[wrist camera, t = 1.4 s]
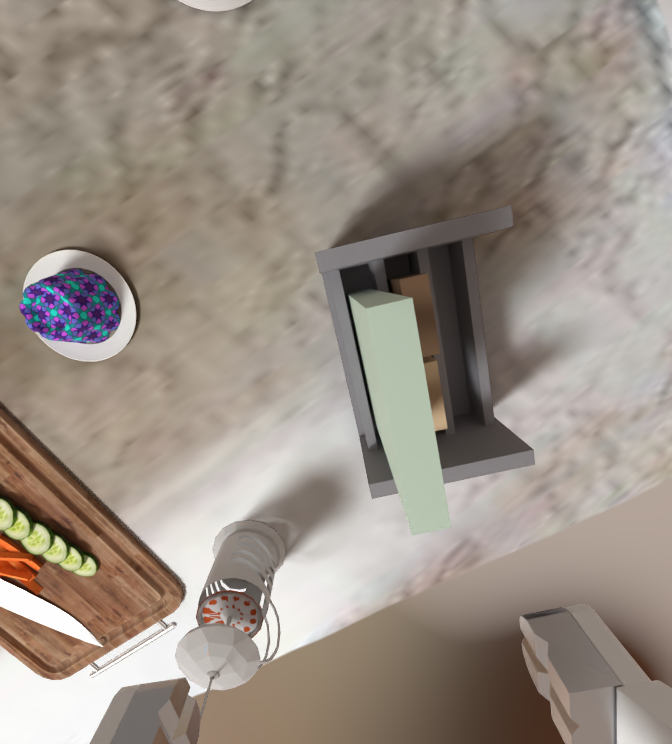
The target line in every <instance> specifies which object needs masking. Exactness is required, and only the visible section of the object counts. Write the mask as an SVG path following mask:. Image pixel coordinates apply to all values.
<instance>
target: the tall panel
mask: <svg viewBox="0 0 672 744" xmlns="http://www.w3.org/2000/svg"><path fill="white" fill-rule="evenodd" d="M347 297H348V301H349V306H350V311H351V315H352V320H353V325H354V329H355V334H356V339H357V343H358V348H359V352H360V357H361V362H362V366H363V371H364V376H365V380H366V385H367V390H368V394H369V399H370V403H371V408H372V413H373V416H374V419H375V422H376V425H377V428H378V432H379V435H380V438H381V441H382V444H383V447H384V450H385V453H386V456H387V459H388V462H389V465H390V468H391V472H392V475H393V478H394V481H395V484H396V487H397V490H398V493H399V496H400V499H401V502H402V505H403V509H404V512H405V515H406V518H407V521H408V524H409V527H410V530H411V533H412V535H417V534H422V533H426V532H431V531H436V530H441V529H446V528H451V524H450V518H449V512H448V506H447V500H446V494H445V488H444V482H443V476H442V470H441V464H440V458H439V452H438V447H437V441H436V435H435V429H434V423H433V417H432V411H431V405H430V399H429V393H428V387H427V381H426V375H425V369H424V363H423V358H422V352H421V346H420V340H419V334H418V328H417V322H416V316H415V310H414V304H413V298H411V297H407V296H402V295H397V294H392V293H388V292H383V291H378V290H374V289H365V290H360V291H356V292H352V293H348V294H347Z"/></svg>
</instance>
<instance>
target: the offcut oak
mask: <svg viewBox="0 0 672 744" xmlns="http://www.w3.org/2000/svg"><path fill="white" fill-rule="evenodd" d="M423 363H424V369H425V375H426V381H427V387H428V393H429V399H430V405H431V411H432V417H433V423H434V429H435V431H438V430H443V429H448V428H447V421H446V415H445V409H444V402H443V396H442V390H441V383H440V377H439V371H438V364H437V360H435V359H434V358H433V357H431V356H428V357H423Z"/></svg>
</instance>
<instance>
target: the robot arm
mask: <svg viewBox="0 0 672 744" xmlns="http://www.w3.org/2000/svg"><path fill="white" fill-rule="evenodd" d="M178 1H180V2H182V3H184V4H186V5H188V6H191V7H194V8H197V9H201V10H206V11H226V10H231V9H235V8H238V7H240V6H243V5H245V4H247V3H249V2H250V1H252V0H178ZM520 628H521V630H522V631H523V633H524V635H525V638H524V639H523V641H522V647H523V654H524V657H525V661H526V663H527V667H528V670H529V672H530V674H531V676H532V679H533V681H534V683H535V685H536V687H537V689H538V691H539V693H540V694H542V695H543V696H544V697H545V698H546V699H548V700H549V701H550V702H551V713H552V719H553V721H554V723H555V724H556V726H557V728H558V730H559V732H560V734H561V736H562V738H563V740H564V742H565V744H672V688H670V687H669V686H667V685H666V684H664V683H662V682H661V681H659V680H658V681H651V680H650V679H649V678H648V676H647V675H646V674H645V673H644V672H643V670H642V669H641V668H640V667H639V665H638V664H637V663H636V662H635V661H634V659H633V658H632V657H631V656H630V655H629V653H628V652H627V651H626V649H625V648H624V647H623V646H622V644H621V643H620V642H619V641H618V640H617V638H616V637H615V636H614V635H613V633H612V632H611V631H610V630H609V628H608V627H607V626H606V625H605V623H604V622H603V621H602V620H601V618H600V617H599V616H598V615H597V614H596V612H595V611H594V610H593V609H592V608H591V607H590V606H589V605H587V604H580V605H575V606H571V607H566V608H562V607H561V608H556V609H551V610H546V611H541V612H536V613H531V614H526V615H521V617H520ZM189 689H190V685H189V683H188V682H187V680H186V678H178V679H172V680H166V681H159V682H153V683H147V684H140V685H134V686H128V687H123V688H121V689H120V690H119V691H118V693H117V694H116V695H115V696H114V698H113V700H112V701H111V703H110V705H109V707H108V709H107V711H106V713H105V715H104V717H103V719H102V721H101V723H100V724H99V726H98V728H97V730H96V732H95V734H94V736H93V738H92V740H91V742H90V744H197V741H198V737H199V731H200V730H199V729H200V720H201V718H200V710H199V706H198V704H197V701H196V700H195V699H193V698H192V697H190V696H189V695H188V692H189Z"/></svg>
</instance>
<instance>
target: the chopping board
mask: <svg viewBox="0 0 672 744" xmlns="http://www.w3.org/2000/svg"><path fill="white" fill-rule="evenodd" d="M183 595H184V594H183V588H182V586H181V585H180V583H179V582H178V580H176V579H175V578H174V577H173V576H172V575H171V574H170V573H169V572H168V571H167V570H166V569H165V568H164V567H163V566H162V565H161V564H160V563H159V562H158V561H157V560H156V559H155V558H154V557H153V556H152V555H151V554H150V553H149V552H148V551H147V550H146V549H145V548H144V547H143V546H142V545H141V544H140V543H139V542H138V541H136V540H135V539H134V538H133V537H132V536H131V535H130V534H129V533H128V532H127V531H126V530H125V529H124V528H123V527H122V526H121V525H120V524H119V523H118V522H117V521H116V520H115V519H114V518H113V517H112V516H111V515H110V514H109V513H108V512H107V511H106V510H105V509H104V508H103V507H102V506H101V505H100V504H99V503H98V502H96V501H95V500H94V499H93V498H92V497H91V496H90V495H89V494H88V493H87V492H86V491H85V490H84V489H83V488H82V487H81V486H80V485H79V484H78V483H77V482H76V481H75V480H74V479H73V478H72V477H71V476H70V475H69V474H68V473H67V472H66V471H65V470H64V469H63V468H62V467H61V466H60V465H59V464H58V463H56V462H55V461H54V460H53V459H52V458H51V457H50V456H49V455H48V454H47V453H46V452H45V451H44V450H43V449H42V448H41V447H40V446H39V445H38V444H37V443H36V442H35V441H34V440H33V439H32V438H31V437H30V436H29V435H28V434H27V433H26V432H25V431H24V430H23V429H22V428H21V427H20V426H19V425H18V424H16V423H15V422H14V421H13V420H12V419H11V418H10V417H9V416H8V415H7V414H6V413H5V412H4V411H3V410H2V409H1V408H0V646H2V647H3V648H4V649H6V650H7V651H8V652H9V653H11V654H12V655H13V656H15V657H16V658H17V659H18V660H20V661H21V662H22V663H23V664H25V665H26V666H27V667H29V668H30V669H31V670H32V671H34V672H35V673H36V674H38V675H40V676H42V677H43V678H47V679H51V680H62V679H64V678H67V677H70V676H71V675H73V674H75V673H76V672H78V671H79V670H81V669H83V668H84V667H86V666H87V665H88V666H89V667H91V668H92V669H93V670H94V671H93V672H91V674H90V677H91V678H94V677H95V676H97V675H99V674H100V673H102V672H104V671H105V670H107V669H108V668H110V667H112V666H113V665H115V664H117V663H118V662H120V661H122V660H123V659H125V658H126V657H128V656H130V655H131V654H133V653H135V652H136V651H138V650H140V649H141V648H143V647H145V646H146V645H148V644H149V643H151V642H153V641H154V640H156V639H158V638H159V637H161V636H163V635H164V634H166V633H167V632H169V631H171V630H172V629H174V628H175V627H176V625H175V624H174V623H171V624H169V625H168V626H166V625H165V624H164V623H163V622H162V621H161V620H162V619H163V618H165V617H167V616H168V615H170V614H171V613H173V612H174V611H175V610H176V609H177V608H178V607H179V606H180V604H181V601H182V598H183ZM155 623H157V624H158V625H159V626H160V627H161V628H162V629H161V630H160V631H158V632H156V633H155V634H153V635H151V636H150V637H148V638H147V639H145V640H143V641H142V642H140V643H138V644H137V645H135V646H134V647H132V648H130V649H129V650H127V651H125V652H124V653H122V654H121V655H119V656H117V657H116V658H114V659H112V660H111V661H109V662H107V663H106V664H104V665H103V666H101V667H99V668H98V667H97V666H96V665H95V664H93V663H92V662H94V661H96V660H97V659H99V658H100V657H102V656H104V655H105V654H107V653H108V652H110V651H112V650H113V649H115V648H117V647H118V646H120V645H121V644H123V643H125V642H126V641H128V640H129V639H131V638H133V637H134V636H136V635H138V634H139V633H141V632H142V631H144V630H146V629H147V628H149V627H150V626H152V625H154V624H155Z"/></svg>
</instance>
